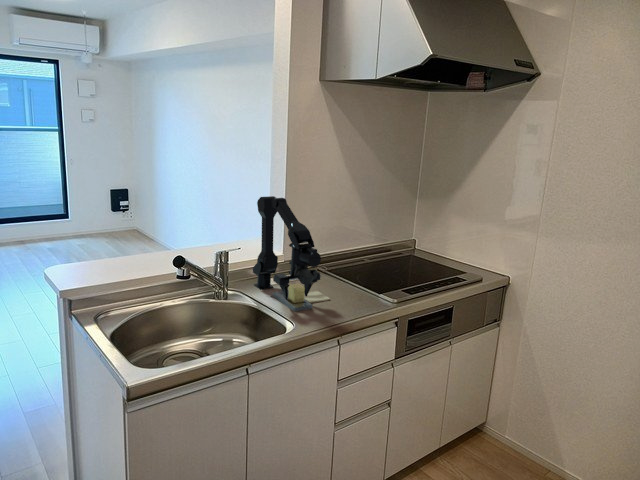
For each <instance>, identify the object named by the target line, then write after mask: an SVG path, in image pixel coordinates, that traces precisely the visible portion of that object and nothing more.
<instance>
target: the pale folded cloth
mask: <svg viewBox="0 0 640 480" xmlns="http://www.w3.org/2000/svg"><path fill="white" fill-rule="evenodd" d="M304 300H306V301H307V302H309V303H311V304H313V303H314V304H315V303H319V302H326V301H330V300H331V297H328V296H327V295H325V294H324V293H322V292H320V291H318V290H312V291H309V293H308V295H307V296H305V293H304Z"/></svg>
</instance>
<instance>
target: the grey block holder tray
mask: <svg viewBox="0 0 640 480" xmlns="http://www.w3.org/2000/svg"><path fill="white" fill-rule="evenodd" d="M288 295H289V289H288ZM272 297H273V298H274V299H276V300H277V301H278V302H280V303H282V304H283V305H285V306H286V307H287V308H288V309H290V310H292V311H293V312H300V311H306V310H311V309H313V303H309V302H307V301H306V300H304V303H300V304H295V305H293V304H291V303H290V302H289V301H288V297H287V300H286V299H285V298H284V295H283V292H282V290H280V291H274V292H272Z"/></svg>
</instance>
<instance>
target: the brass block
mask: <svg viewBox="0 0 640 480" xmlns="http://www.w3.org/2000/svg"><path fill="white" fill-rule="evenodd" d="M289 285H290V286H289V287H288V290H289V295H288V301H289V302H290V303H291V304H293V305H295V304H300V303H304V290H305V287H304V285H303V284H300V283H292V284H289Z"/></svg>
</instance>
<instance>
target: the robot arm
mask: <svg viewBox="0 0 640 480" xmlns="http://www.w3.org/2000/svg"><path fill="white" fill-rule="evenodd" d="M256 204H257V211H258V214H259V215H260V217H261V251H260V253H259V254H258V255H257V262H256V263H255V265H253V267H252V273H253V274H254V275H257V278H256V283H253V286H254V287H256V288H257V289H259V290H265V289H273V288H274V286H273V285H271V278H272V277H271V276H272V274H274V275H273V281H272V282H274V283H276V284H278V285H279V287H280V291H282V292H283V295H284V298H285V299H286V300H287V297H288V290H289V286H290V285H291V284H289V283H290V281H295V280H299V282H300V283H301V285H303V286H304V287H305V290H304V293H305V296H307V295H308V293H309V292H311V291H310V290H311V288H312V286H313V285H314V284H316V283H318V281H320V280H321V279H322V278H321V277H322V276H321V272H319V271H317V269H309V268H308V266H310V267H311V268H315V267H318V266H319V265H320V263H321V261H322V257H321V255H320V253H319V252H318V249H317V248H315V247H316V246H315V242H314V239H313V237H312V234H311V231H310V229H309V228H308V227H306V224H305V225H304V224H303V223H301V222H300V221H299V220H298V218H297V217H296V214H294V212H293V211H292V209H291V207H290V206H289V204H288V202H287V199H286V198H285V197H276V196H260V197H259V198H258V199H257V202H256ZM277 213H278V215H279V216H280V218H281V220H282V221H283V224H284V225H285V226H286V228H287V235H288V238H289V240H290V242H291V243H289V244H288V247H290V248H291V258H290V259H291V260H289V261H288V262H289V263H288V264H289V265H290V270H288V274H289V275H286V274H285V273H284V272H283V273H277V274H276V271H277V268H278V265H279V262H278V259H279V257H278V255H276V253H275V252H274V221H275V220H274V219H275V216H276V215H277Z"/></svg>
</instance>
